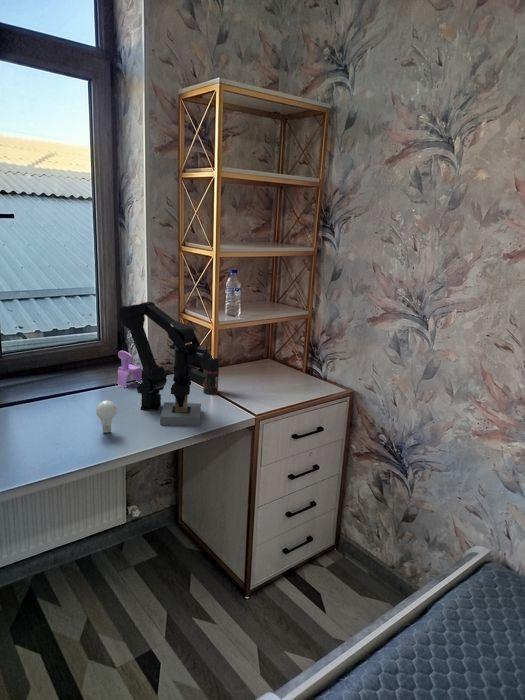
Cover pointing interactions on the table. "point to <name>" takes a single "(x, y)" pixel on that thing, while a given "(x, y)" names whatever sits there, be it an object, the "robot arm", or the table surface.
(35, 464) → the table surface
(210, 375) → the deodorant
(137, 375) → the toy chair
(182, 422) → the socket block
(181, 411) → the peg
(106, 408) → the lightbulb
